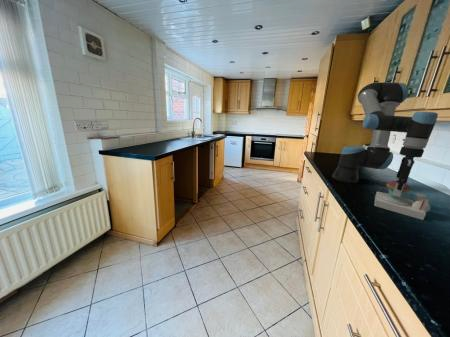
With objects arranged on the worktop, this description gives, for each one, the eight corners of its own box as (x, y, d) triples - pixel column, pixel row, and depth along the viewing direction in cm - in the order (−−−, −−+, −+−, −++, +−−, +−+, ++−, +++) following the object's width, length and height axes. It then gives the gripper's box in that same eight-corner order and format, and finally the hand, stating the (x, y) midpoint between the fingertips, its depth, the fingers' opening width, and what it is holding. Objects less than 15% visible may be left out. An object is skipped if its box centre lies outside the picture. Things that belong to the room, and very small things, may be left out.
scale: (375, 196, 102) (379, 182, 99) (421, 208, 91) (428, 193, 88) (374, 205, 90) (379, 190, 87) (427, 221, 79) (435, 204, 76)
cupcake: (407, 196, 90) (417, 173, 86) (404, 200, 84) (414, 176, 81) (385, 190, 96) (393, 168, 92) (381, 193, 91) (389, 170, 87)
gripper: (400, 144, 93) (385, 185, 100) (403, 148, 78) (386, 196, 84) (421, 146, 89) (404, 189, 95) (429, 151, 73) (408, 202, 80)
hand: (395, 192), depth 90 cm, fingers closed on cupcake, 8 cm apart
